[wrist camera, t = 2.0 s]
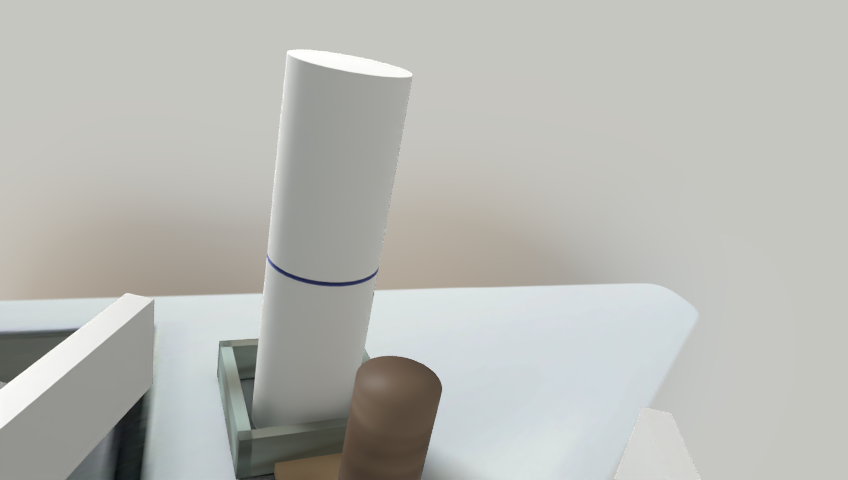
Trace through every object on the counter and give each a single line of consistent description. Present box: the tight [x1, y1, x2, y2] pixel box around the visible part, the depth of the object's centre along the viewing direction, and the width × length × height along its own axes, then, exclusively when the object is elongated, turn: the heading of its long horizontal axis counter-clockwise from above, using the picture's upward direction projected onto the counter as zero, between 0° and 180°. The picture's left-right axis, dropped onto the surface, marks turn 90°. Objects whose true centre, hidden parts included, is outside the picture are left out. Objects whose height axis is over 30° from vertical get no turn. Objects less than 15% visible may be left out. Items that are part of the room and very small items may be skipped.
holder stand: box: [217, 339, 442, 480], centre depth 36 cm, size 21×11×13 cm, turn 23°
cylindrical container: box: [251, 50, 413, 429], centre depth 39 cm, size 7×7×25 cm
